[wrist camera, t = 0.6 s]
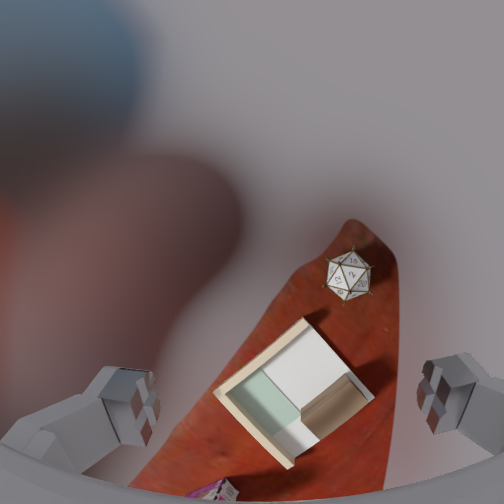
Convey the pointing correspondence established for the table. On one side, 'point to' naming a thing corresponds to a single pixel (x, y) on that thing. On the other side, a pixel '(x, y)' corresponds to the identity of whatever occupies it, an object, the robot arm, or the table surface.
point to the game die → (348, 276)
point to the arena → (284, 390)
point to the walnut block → (333, 407)
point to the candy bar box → (216, 491)
